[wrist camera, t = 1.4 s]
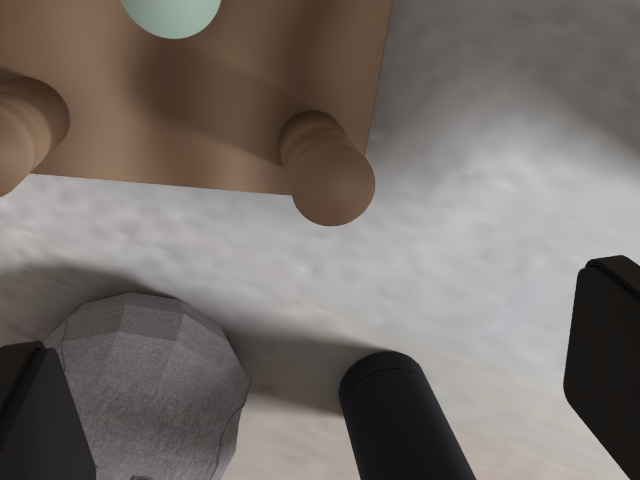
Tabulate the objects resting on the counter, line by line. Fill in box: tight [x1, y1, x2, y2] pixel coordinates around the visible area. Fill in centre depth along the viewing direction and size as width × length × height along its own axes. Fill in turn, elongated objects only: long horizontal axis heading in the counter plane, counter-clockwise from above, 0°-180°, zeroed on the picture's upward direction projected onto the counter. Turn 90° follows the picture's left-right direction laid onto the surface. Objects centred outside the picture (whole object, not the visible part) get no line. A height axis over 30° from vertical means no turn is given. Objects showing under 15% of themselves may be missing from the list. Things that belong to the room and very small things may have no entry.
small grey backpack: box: [42, 292, 251, 480], centre depth 35 cm, size 15×8×20 cm
